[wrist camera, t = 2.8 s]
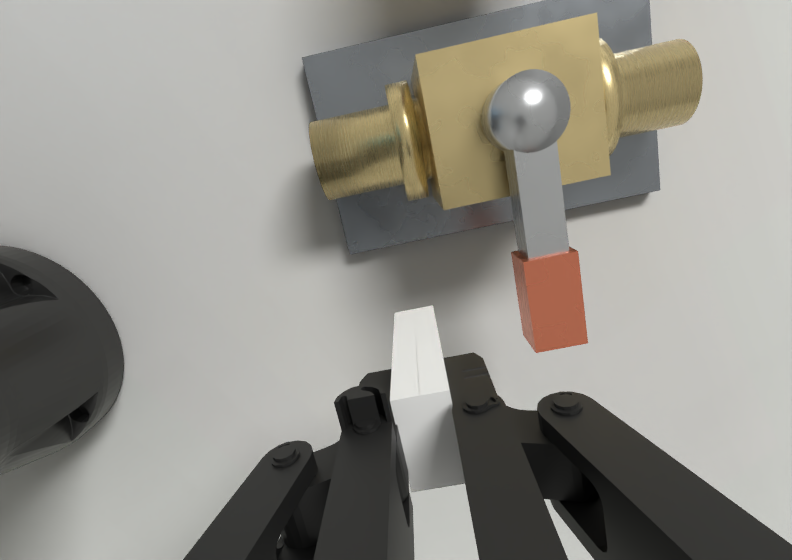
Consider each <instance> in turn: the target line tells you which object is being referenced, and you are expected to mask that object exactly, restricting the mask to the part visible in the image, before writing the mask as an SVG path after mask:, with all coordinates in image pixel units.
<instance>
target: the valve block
mask: <svg viewBox="0 0 792 560" xmlns="http://www.w3.org/2000/svg"><path fill="white" fill-rule="evenodd" d="M302 60H303V64H304V68H305V73H306V77H307V81H308V85H309V89H310V93H311V97H312V101H313V105H314V110H315V114H316V118H317V121H314V122H310V124H309V136H310V143H311V149H312V154H313V159H314V163H315V167H316V170H317V174H318V177H319V180H320V183H321V186H322V188H323V191H324V193H325V195H326V197H327V198H328V199H329V200H333V199H336V200H337V204H338V208H339V212H340V216H341V221H342V225H343V229H344V233H345V237H346V241H347V245H348V249H349V253H350V254H354V253H359V252H364V251H369V250H373V249H378V248H383V247H388V246H393V245H398V244H402V243H407V242H412V241H417V240H422V239H427V238H431V237H436V236H441V235H446V234H451V233H456V232H460V231H465V230H470V229H475V228H480V227H484V226H489V225H494V224H499V223H504V222H509V221H513V220H514V218H513V211H512V204H511V197H510V190H509V183H508V176H507V169H506V162H505V155H504V151H501V150H499V149H497V148H496V147H494V146H493V145H492V144H491V143H490V142H489V141H488V139H487V138H486V136H485V134H484V132H483V129H482V124H481V113H482V108H483V105H484V103H485V100H486V99H487V97H488V95H489V94H490V93H491V92H492V91H493V90H494V89H495V88H496V87H497V86H498V85H500V84H501V83H503V82H504V81H505V80H507V79H508V78H510V77H511V76H513V75H515V74H516V73H519V72H521V71H524V70H529V69H539V70H544V71H547V72H549V73H551V74H553V75H555V76H556V77H557V78H558V79H559V80H560V81H561V82H562V83H563V84H564V86H565V88H566V90H567V92H568V94H569V98H570V105H571V111H570V118H569V121H568V124H567V127H566V129H565V131H564V132H563V134H562V135H561V136H560V138H559V139H558V140H557V146H558V155H559V164H560V172H561V181H562V190H563V199H564V208H565V210H567V209H571V208H576V207H581V206H586V205H591V204H596V203H600V202H605V201H610V200H615V199H620V198H624V197H629V196H634V195H639V194H644V193H649V192H653V191H658V190H660V177H659V159H658V142H657V130H659V129H663V128H668V127H673V126H677V125H682V124H684V123H685V122H687V121H688V120H689V119H690V118H691V117H692V115H693V114H694V112H695V111H696V108H697V106H698V103H699V100H700V96H701V91H702V68H701V63H700V59H699V56H698V54H697V52H696V50H695V48H694V47H693V46H692V45H691V44H690V43H689V42H688V41H686V40H683V39H676V40H672V41H667V42H663V43H659V44H654V45H652V37H651V19H650V1H649V0H545V1H540V2H536V3H532V4H528V5H523V6H519V7H515V8H511V9H506V10H502V11H498V12H494V13H489V14H485V15H481V16H477V17H472V18H468V19H464V20H460V21H455V22H451V23H447V24H443V25H438V26H434V27H430V28H426V29H421V30H417V31H413V32H409V33H404V34H400V35H396V36H392V37H387V38H383V39H379V40H375V41H370V42H366V43H362V44H358V45H353V46H349V47H345V48H341V49H336V50H332V51H328V52H324V53H319V54H315V55H311V56H307V57H302Z"/></svg>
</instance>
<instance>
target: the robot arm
mask: <svg viewBox="0 0 792 560" xmlns="http://www.w3.org/2000/svg"><path fill="white" fill-rule="evenodd" d="M123 366H124V365H123V352H122V346H121V342H120V339H119V335H118V332H117V330H116V327H115V325H114V323H113V321H112V319H111V317H110V315H109V313H108V312H107V310H106V309H105V307H104V306H103V304H102V303H101V301H100V300H99V299H98V298H97V296H96V295H95V294H94V293H93V292H92V291H91V290H90V289H89V287H87V286H86V285H85V284H84V283H83V282H82V281H81V280H80V279H79V278H77V277H76V276H75V275H74V274H72V273H71V272H70V271H68V270H67V269H65V268H64V267H62V266H61V265H59V264H57V263H55V262H54V261H52V260H50V259H47V258H45V257H43V256H41V255H38V254H36V253H33V252H30V251H27V250H23V249H19V248H14V247H8V246H0V475H1V474H4V473H6V472H8V471H11V470H13V469H16V468H18V467H20V466H23V465H25V464H28V463H30V462H33V461H35V460H37V459H40V458H42V457H45V456H47V455H49V454H52V453H54V452H57V451H59V450H61V449H63V448H65V447H66V446H68V445H70V444H71V443H73V442H74V441H76V440H77V439H79V438H80V437H81V436H82V435H83V434H85V433H86V432H87V431H88V430H89V429H90V428H91V427H92V426H94V425H95V424H96V423H97V422H98V421H99V420H100V419H101V418H102V417H103V416H104V415H105V414H106V413H107V412H108V411H109V409H110V408H111V406H112V405H113V403H114V401H115V399H116V397H117V395H118V393H119V390H120V387H121V383H122V377H123ZM334 404H335V408H336V412H337V415H338V419H339V422H340V426H341V430H342V432H341V436H340V441H338V442H336V443H335V444H333V445H331V446H329V447H326V448H324V449H321V450H318V451H316V452H313V450H312V447H311V445H310V444H309V443H307V442H305V441H292V442H286V443H284V444H281V445H278V446H277V447H276V448H274V449H272V450H271V451H269V452H268V453H267V454H266V455H265V456H264V457H263V458H262V459H261V460H260V462H259V463H258V464H257V466H256V467H255V468H254V469H253V471H252V472H251V473H250V475H249V476H248V477H247V478H246V480H245V481H244V482H243V484H242V485H241V486H240V487H239V489H238V490H237V491H236V493H235V494H234V495H233V496H232V498H231V499H230V500H229V502H228V503H227V504H226V505H225V507H224V508H223V509H222V511H221V512H220V513H219V514H218V516H217V517H216V518H215V520H214V521H213V522H212V523H211V525H210V526H209V527H208V529H207V530H206V531H205V532H204V534H203V535H202V536H201V537H200V539H199V540H198V541H197V543H196V544H195V545H194V546H193V548H192V549H191V550H190V552H189V553H188V554H187V555H186V557H185V558H184V559H183V560H414V533H413V506H412V502H411V498H410V493H409V483H410V487H411V492H416V491H422V490H428V489H434V488H440V487H446V486H452V485H458V484H464V483H465V485H466V490H467V495H468V501H469V506H470V512H471V517H472V522H473V528H474V533H475V539H476V544H477V549H478V555H479V560H568V558H567V556H566V553H565V551H564V548H563V546H562V543H561V541H560V538H559V536H558V534H557V531H556V529H555V526H554V524H553V521H552V519H551V516H550V514H549V511H548V509H547V506H546V504H545V501H544V499H550V500H551V503H552V505H553V507H554V509H555V510H556V512H557V513H558V514H559V515H560V517H561V518H562V519H563V521H564V522H565V523H566V524H567V526H568V527H569V528H570V529H571V531H572V532H573V533H574V534H575V536H576V537H577V538H578V539H579V541H580V542H581V543H582V544H583V546H584V547H585V548H586V550H587V551H588V552H589V553H590V555H591V556H592V557H593V558H594V560H792V545H791V544H790V543H789V542H787V541H786V540H784V539H783V538H782V537H780V536H779V535H778V534H776V533H775V532H774V531H772V530H771V529H769V528H768V527H767V526H765V525H764V524H763V523H761V522H760V521H758V520H757V519H756V518H754V517H753V516H752V515H750V514H749V513H748V512H746V511H745V510H743V509H742V508H741V507H739V506H738V505H737V504H735V503H734V502H733V501H731V500H730V499H728V498H727V497H726V496H724V495H723V494H722V493H720V492H719V491H717V490H716V489H715V488H713V487H712V486H711V485H709V484H708V483H707V482H705V481H704V480H702V479H701V478H700V477H698V476H697V475H696V474H694V473H693V472H691V471H690V470H689V469H687V468H686V467H685V466H683V465H682V464H681V463H679V462H678V461H676V460H675V459H674V458H672V457H671V456H670V455H668V454H667V453H666V452H664V451H663V450H661V449H660V448H659V447H657V446H656V445H655V444H653V443H652V442H650V441H649V440H648V439H646V438H645V437H644V436H642V435H641V434H640V433H638V432H637V431H635V430H634V429H633V428H631V427H630V426H629V425H627V424H626V423H625V422H623V421H622V420H620V419H619V418H618V417H616V416H615V415H614V414H612V413H611V412H609V411H608V410H607V409H605V408H604V407H603V406H601V405H600V404H599V403H597V402H596V401H594V400H593V399H592V398H590V397H588V396H586V395H584V394H580V393H575V392H558V393H554V394H550V395H548V396H546V397H544V398H542V399H541V401H540V402H539V403H538V407H537V411H530V410H518V409H514V408H511V407H508V406H506V405H505V403H504V401H503V400H502V398H501V397H500V396H498V395H497V393H496V391H495V388H494V386H493V383H492V380H491V378H490V375H489V373H488V370H487V368H486V365H485V363H484V360H483V358H482V357H480V356H478V355H477V354H475V353H469V354H463V355H458V356H453V357H447V358H443V354H442V349H441V344H440V339H439V334H438V329H437V324H436V319H435V314H434V309H433V305H432V306H427V307H421V308H416V309H411V310H406V311H401V312H396V313H395V315H394V334H393V352H392V369H389V370H384V371H379V372H373V373H368V374H367V375H366V376H365V377H364V378H363V379H362V380H361V382H360V384H359V386H356V387H353V388H350V389H348V390H346V391H344V392H343V393H342V394H340V395H339V396H338V397H337V398H336V400H335V402H334ZM280 534H281V537H280ZM279 537H280V539H279ZM278 539H279V540H278Z"/></svg>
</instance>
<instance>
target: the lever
mask: <svg viewBox="0 0 792 560" xmlns="http://www.w3.org/2000/svg"><path fill="white" fill-rule="evenodd" d="M570 111H571V105H570V98H569V94H568V92H567V90H566V88H565V86H564V84H563V83H562V82H561V81H560V80H559V79H558V78H557V77H556V76H555V75H553V74H551V73H549V72H547V71H544V70H539V69H529V70H524V71H521V72H519V73H516V74H515V75H513V76H511V77H510V78H508V79H507V80H505V81H504V82H503V83H501V84H500V85H498V86H497V87H496V88H495V89H494V90H493V91H492V92H491V93H490V94H489V95H488V97H487V99H486V100H485V103H484V105H483V108H482V113H481V124H482V129H483V132H484V134H485V136H486V138H487V139H488V141H489V142H490V143H491V144H492V145H493V146H494V147H496V148H497V149H499V150H501V151H504V155H505V162H506V169H507V176H508V183H509V190H510V197H511V204H512V211H513V218H514V225H515V232H516V239H517V246H518V251H514V252H511V255H512V262H513V268H514V275H515V282H516V289H517V296H518V302H519V309H520V316H521V323H522V330H523V335H524V337H525V338H526V339H527V341H528V342H529V344H530V345H531V347H532V348H533V350H534V351H535V352H536V353H538V352H544V351H549V350H554V349H560V348H565V347H570V346H575V345H581V344H586V343H588V339H587V330H586V321H585V311H584V302H583V293H582V284H581V274H580V265H579V256H578V251H577V250H575V249H573V248H571V247H569V243H568V234H567V226H566V217H565V208H564V199H563V190H562V181H561V172H560V164H559V155H558V146H557V140H558V139H559V138H560V136H561V135H562V134H563V132H564V131H565V129H566V127H567V124H568V121H569V118H570Z"/></svg>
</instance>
